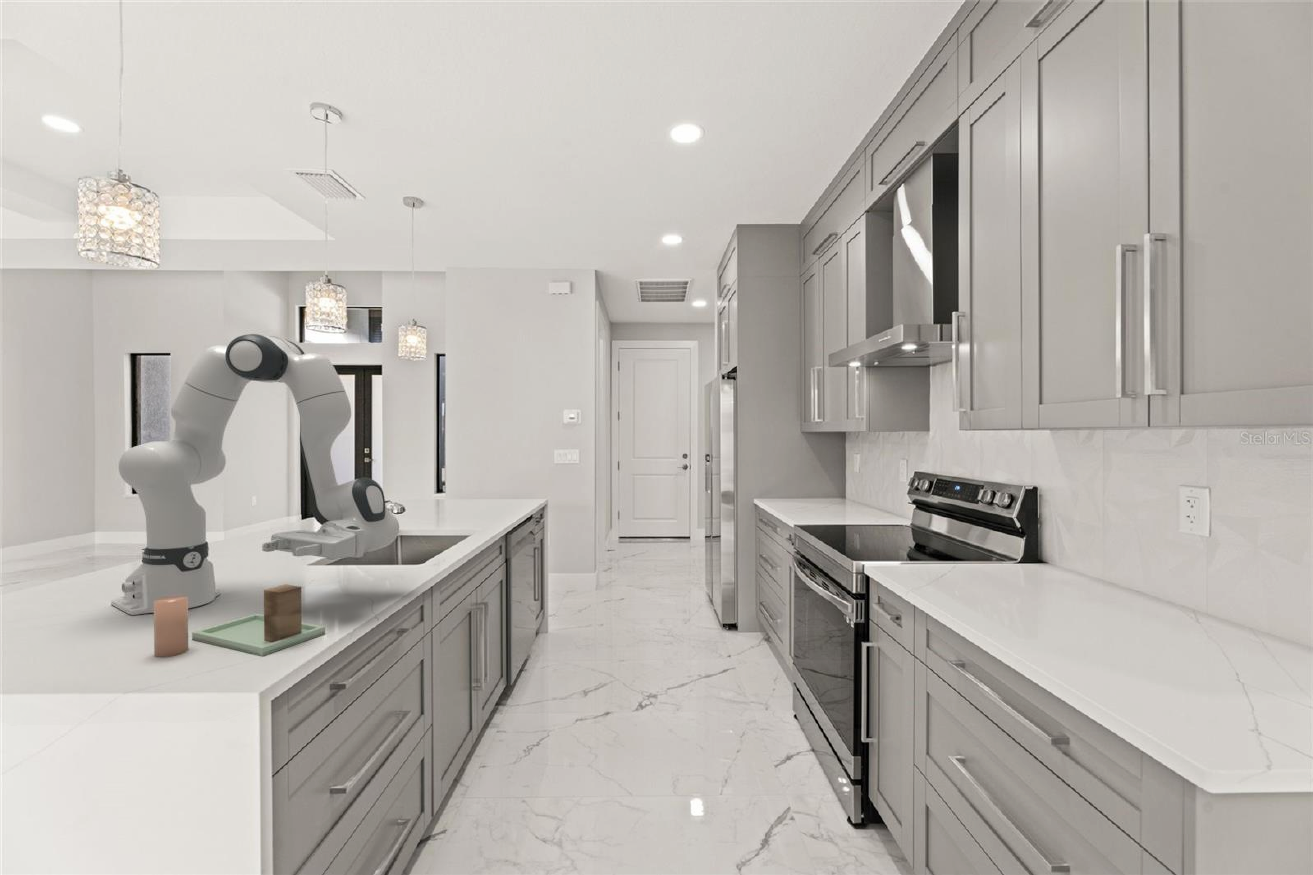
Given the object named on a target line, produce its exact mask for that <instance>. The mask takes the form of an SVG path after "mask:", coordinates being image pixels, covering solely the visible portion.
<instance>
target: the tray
mask: <svg viewBox="0 0 1313 875" xmlns="http://www.w3.org/2000/svg"><path fill="white" fill-rule="evenodd" d="M301 622H302V633H300V634H297V635H294V636H291V637H288V638H285V639H282V640H279V641H276V642H273V643H272V642H267V641H264V613H263V614H262V613H255V614H254V613H253V614H251V615H248V616H245V617H241V618H237V619H234V620H230V621H226V622H223V623H220V624H216V625H211V626H209V627H206V628H203V629H202V628H201V629H199V630H195V631H193V632H191V638H192V639H191V640H192V641H195V642H201V643H206V644H209V645H214V646H217V647H223V648H227V649H231V650H233V651H234V650H235V651H238V652H239V651H240V652H243V653H246V654H252V655H256V656H260V657H264V656H267V655H269V654H273V653H276V652H279V651H280V650H285V649H286V648H289V647H293V646H296V645H298V644H300V643H303V642H307V641H309V640H313V639H316V638H317V637H320V636H323V635H324V636H325V635H326V626H325V625H324V626H323V625H317V624H314V623H308V622H303V621H301Z"/></svg>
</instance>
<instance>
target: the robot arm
mask: <svg viewBox="0 0 1313 875" xmlns="http://www.w3.org/2000/svg"><path fill="white" fill-rule="evenodd" d="M252 381H255V382H260V383H261V382H262V383H283V384H285V385H286V386H287V387H288V388H289V390H290V391H291V394H292V396H293V399H294V402H295V404H296V407H297V411H298V414H299V420H300V427H301V428H300V433H299V434H300V435H299V446H300V450H301V455H302V459H303V465H304V468H305V472H306V477H307V481H308V486H309V489H310V509H311V514H312V516H313V517H314V519H315V521H316V522H317V523H319V524H320V525H321V526H320V527H319V529H318V530H317V531H311V530H305V529H304V530H303V529H300V530H292V531H291V530H290V531H284V532H283V531H282V532H275V533H273V534H272V535H271V538H270V541H269V542H263V543H262V545H261V550H262V552H267V553H269V552H270V553H271V552H275V551H280V552H285V553H292V556H294V557H298V558H299V557H304V556H313V557H320V558H325V559H327V560H331V561H332V560H338V559H344V558H345V559H346V558H350V559H358V558H359V559H360V558H362V557H364V553H370V552H373V551H377V550H380V549H383V548H386V547H388V546H389V545H391V544H392V543H394V542H395V541H396V539H397V537H398V535H399V532H400V524H399V520H398V518H397V517H396V516H395V515H394V514H393V513H392V512H391V511H390V510H389V508H388V506H387V504H386V499H385V495H384V491H383V488H382V487H381V486H380V484H379V483H378V482H377V481H376V480H374V479H372V478H369V477H359V478H356V479H352V480H350V481H347V482H345V483H341V484H339V483H338V482H337V479H336V478H337V477H336V473H335V469H334V465H333V460H332V457H331V450H332V447H333V445H334V443H335V441H336V439H337V438H338V437H339V435H340V434H341V433H342V432H343V431H344V430H345V429H346V428H347V426H348V425H349V423H350V420H351V418H352V409H351V408H352V406H351V403H350V400H349V397H348V395H347V392H346V389H345V387H344V385H343V382H342V380H341V378H340V375H339V374H338V372H337V371H336V368H335V366H334V365H333V363H332V362H331V360H330V359H329V358H328V357H327V356H326V355H323V354H321V353H314V352H307V353H305V352H304V350H303V349H302V348H301V347H300V346H299V345H298V344H296V343H294V342H293V341H291V340H287V339H283V338H281V337H277V336H274V335H262V334H257V333H249V334H243V335H240V336H237V337H235V338H234V339H233V340H231V341H230V343H229V344H228V345H222V344H221V345H218V344H217V345H212V346H210V347H208V348H206V349H205V350H204V351H203V353H202V354H201V355H200V357H198V359H197V360H196V361H195V363H194V365H193V366H192V367H191V369H190V371H188V374H187V376H186V378H185V380H184V382H183V384H182V386H181V388H180V390H179V392H178V394H177V396H176V398H175V400H174V403H173V404H172V407H171V409H170V414H171V416H172V418H173V420H174V422H175V426H174V432H173V436H172V438H171V439H170V440H162V441H161V440H159V441H158V440H157V441H156V440H155V441H148V442H145V443H142V444H138V445H136V446H133V447H131V448H129V449H127V450H126V451H125V452H123V454H122V455H121V457H120V458H119V461H118V472H119V475H120V477H121V479H122V480H123V481H124V482H125V483H126V484H127V485H129V486H130V487H132V489H133V490H134V491H135V492H136V494H137V496H138V498H139V500H140V502H141V505H142V507H143V511H144V515H145V527H146V528H145V529H146V530H145V532H146V547H144V548H142V549H141V551H143V552H141V554H142V559H141V564H140V565H139V566H138V567H137V568H136V569H135V570H134V571H133V572H132V573H131V574H130V575H129V576H127V578H125V579H124V580H125V581H124V582H123V583H122V584H121V590H122V593H124V596H120V597H117V598H115V599H112V600H111V606H113V607H116V608H117V609H118V610H121V611H123V612H124V613H127V614H128V615H131V616H133V615H143V614H151V613H153V614H154V601H155V600H157V599H160V598H164V597H169V596H180V595H183V596H188V609H191V608H196V607H199V606H204V605H206V604H209V603H211V602H213V601H215V600H216V597H218V596H220V595H221V590H220V589H217V588H216V582H215V581H216V580H215V572H214V571H215V570H214V564H213V562H211V561H210V560H208V558H209V549H210V548H209V543H208V541H207V534H206V533H207V525H206V524H207V521H206V520H207V519H206V515H207V514H206V510H205V508H204V507H203V506H201V505H200V504H199V503H198V502H197V500H196V498H195V496H194V494H193V489H192V485H198V484H199V485H200V484H202V483H203V484H204V483H205V482H208V481H210V480H212V479H214V478H217V477H218V476H220V474H222V473H223V471H224V469H225V466H226V460H227V459H226V455H225V452H224V451H223V439H224V434H225V430H226V428H227V425H228V422H229V420H230V418H231V416H232V413H233V412H234V410H235V407H236V405H237V403H238V401H239V399H240V397H241V395H242V393H243V391H244V389H245V387H246V385H247V384H249V383H250V382H252Z"/></svg>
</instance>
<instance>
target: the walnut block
mask: <svg viewBox="0 0 1313 875" xmlns="http://www.w3.org/2000/svg"><path fill="white" fill-rule="evenodd" d="M263 615H264V641H267V642H272V643H273V642H276V641H279V640H282V639H285V638H288V637H291V636H294V635H297V634H300V633H302V622H303V621H302V587H301V586H299V585H298V586H297V585H293V584H292V585H291V584H282V585H278V586H274V587H271V588H267V589H264V590H263Z"/></svg>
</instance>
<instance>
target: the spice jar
mask: <svg viewBox="0 0 1313 875" xmlns="http://www.w3.org/2000/svg"><path fill="white" fill-rule="evenodd" d="M153 627H154V628H153V635H154V636H153V637H154V638H153V646H154V648H153V650H154V655H153V656H154V657H155V658H168V657H169V658H170V657H174V656H178V655H181V654H184V653H186V652H188V650H189V608H188V596H183V595H180V596H169V597H164V598H160V599H157V600H155V601H154V613H153Z"/></svg>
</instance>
